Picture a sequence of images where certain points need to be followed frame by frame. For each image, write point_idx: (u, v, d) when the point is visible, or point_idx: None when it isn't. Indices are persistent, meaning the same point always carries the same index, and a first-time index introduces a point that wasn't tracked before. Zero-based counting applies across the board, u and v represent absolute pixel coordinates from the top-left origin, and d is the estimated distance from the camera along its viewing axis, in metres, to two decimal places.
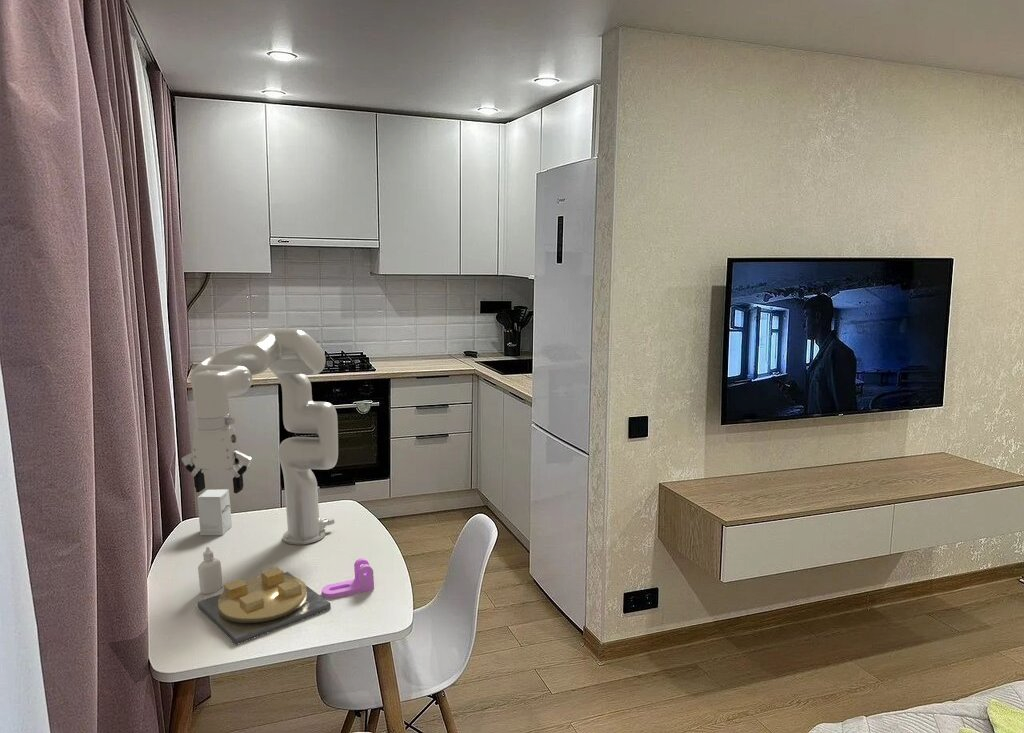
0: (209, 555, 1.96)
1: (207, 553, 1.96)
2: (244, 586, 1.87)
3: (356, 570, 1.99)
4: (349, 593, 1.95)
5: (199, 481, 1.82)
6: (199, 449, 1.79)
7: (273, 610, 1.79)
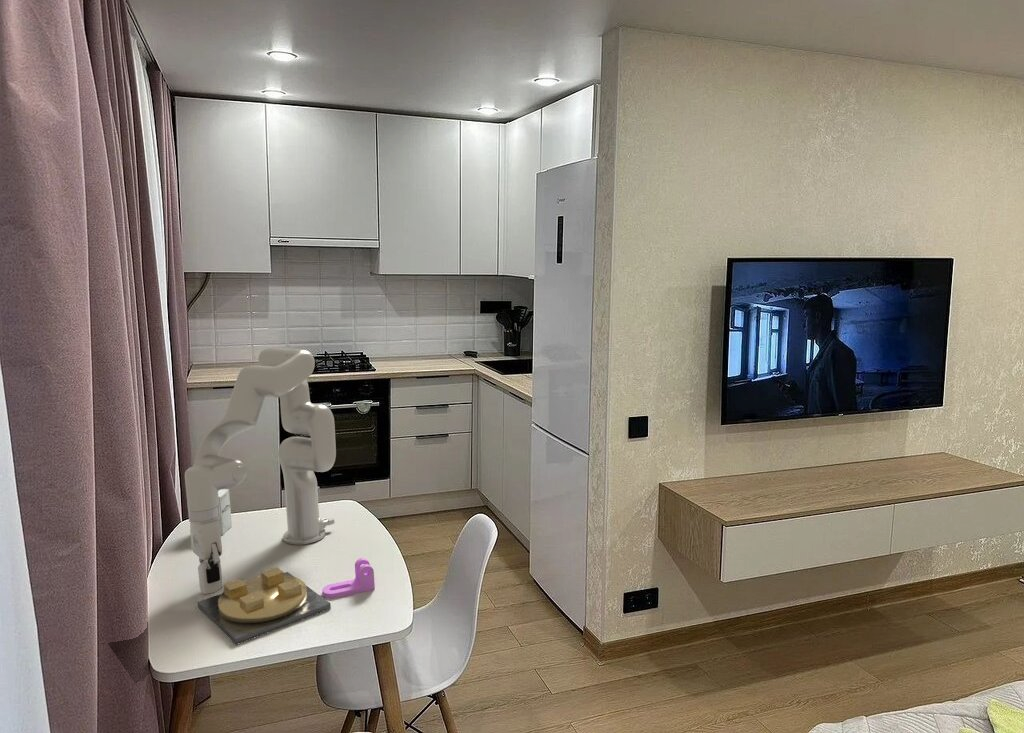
0: None
1: None
2: (244, 586, 1.87)
3: (357, 570, 1.99)
4: (350, 593, 1.95)
5: None
6: None
7: (273, 610, 1.79)
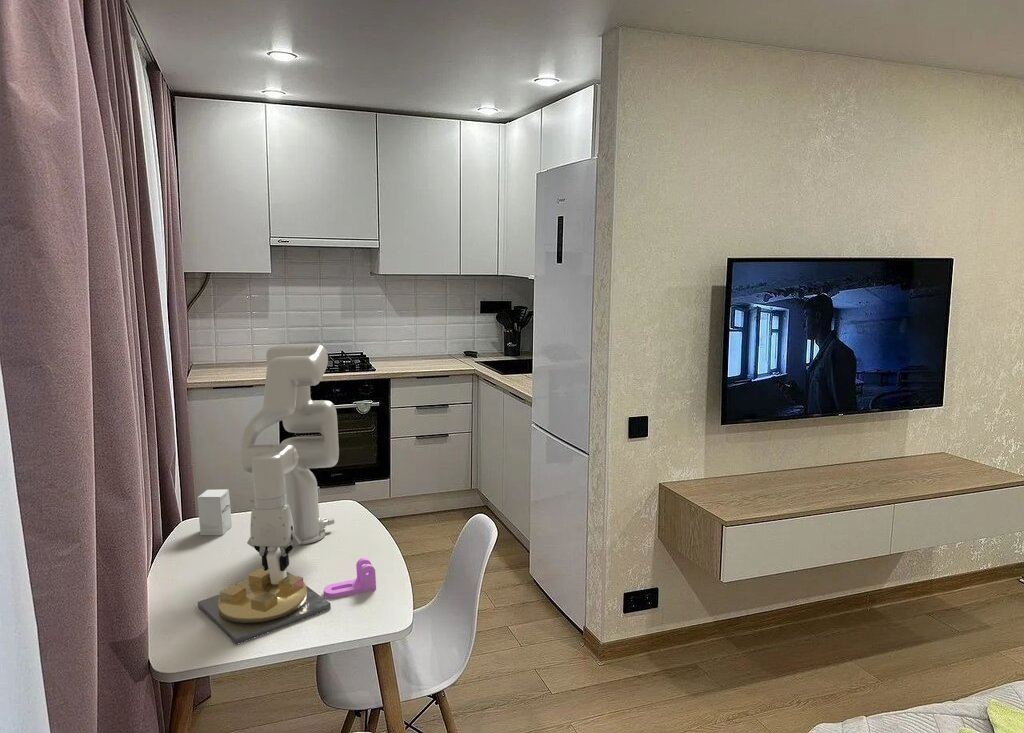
0: None
1: None
2: (243, 589, 1.86)
3: (358, 570, 1.99)
4: (351, 593, 1.95)
5: None
6: None
7: (290, 604, 1.82)
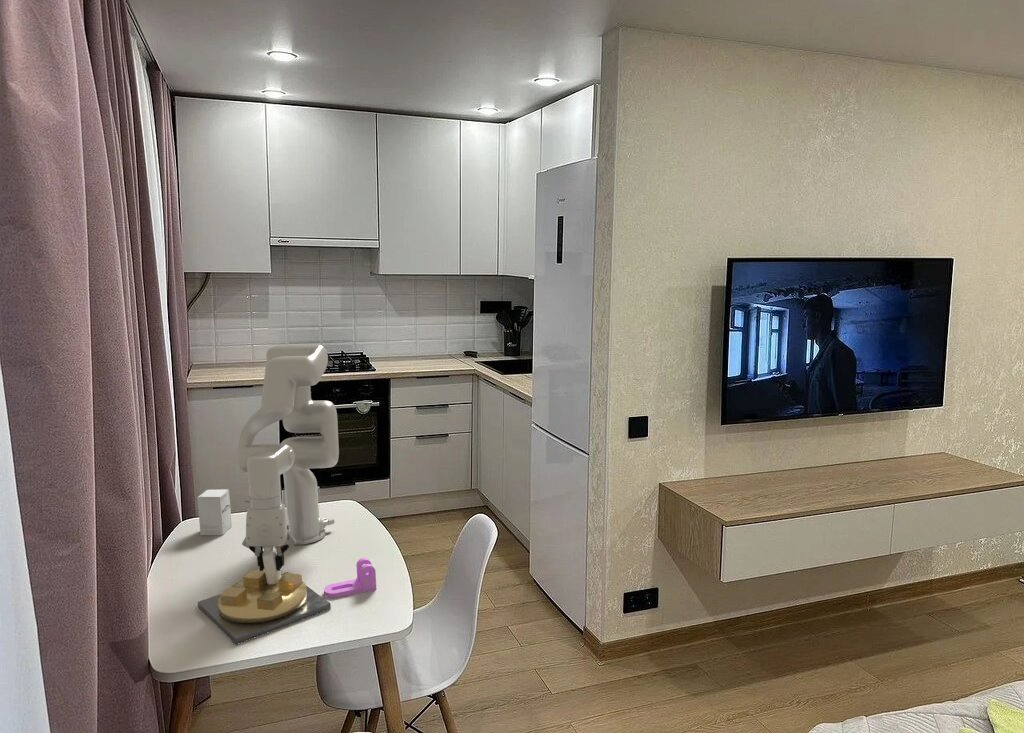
0: None
1: None
2: (244, 591, 1.85)
3: (358, 570, 1.99)
4: (351, 593, 1.95)
5: None
6: None
7: (295, 601, 1.84)
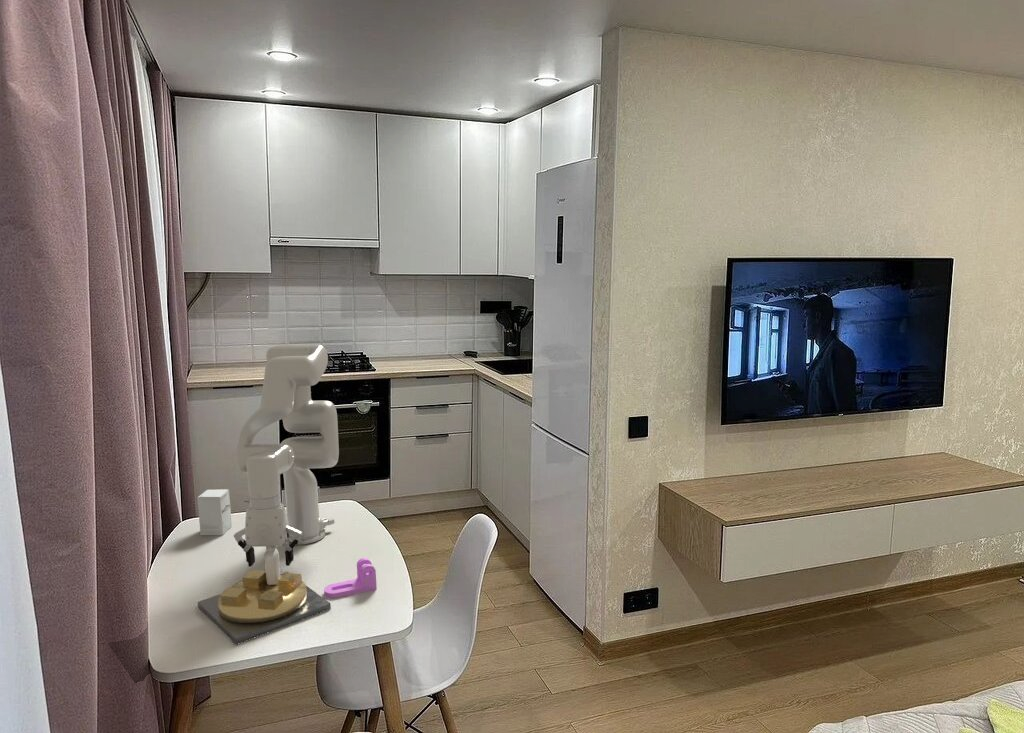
0: None
1: None
2: (244, 591, 1.85)
3: (358, 570, 1.99)
4: (351, 593, 1.95)
5: None
6: None
7: (296, 600, 1.84)
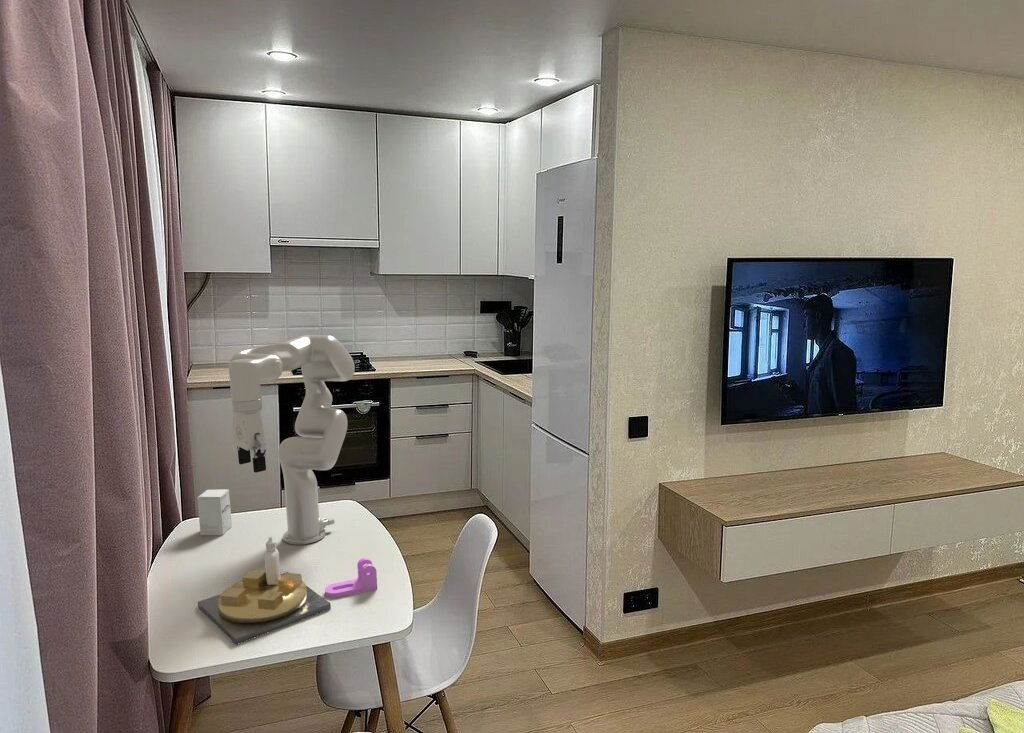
0: (275, 544, 1.93)
1: (273, 542, 1.92)
2: (244, 591, 1.85)
3: (359, 569, 1.99)
4: (352, 592, 1.95)
5: None
6: None
7: (296, 600, 1.84)
